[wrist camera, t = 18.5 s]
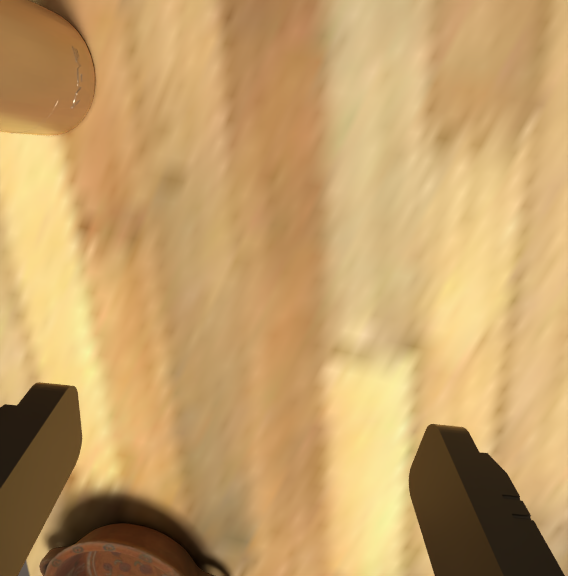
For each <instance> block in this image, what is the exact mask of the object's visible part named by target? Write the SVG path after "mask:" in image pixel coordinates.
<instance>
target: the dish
mask: <svg viewBox="0 0 568 576" xmlns="http://www.w3.org/2000/svg"><path fill="white" fill-rule="evenodd" d="M40 571H41V573H42V575H43V576H214V575H212V574H209V573H206V572H204V571H202V570H201V569H200V568H199V567H198V566H197V565H196V564H195V563H194V561H193V559H192V558H191V556H190V555H189V554H188V552H187V551H186V550H185V549H184V548H183V547H182V546H181V545H179V544H178V543H177V542H175V541H174V540H173V539H171V538H169V537H168V536H166V535H164V534H162V533H160V532H158V531H156V530H154V529H151V528H148V527H143V526H139V525H134V524H128V523H117V524H111V525H106V526H103V527H99V528H97V529H95V530H93V531H92V532H90V533H88V534H87V535H86V536H84V537H83V538H82V539H80V540H79V541H78V542H77V543H75V544H74V545H72V546H70V547H58V548H54V549H52V550H50V551H49V552H48V553H47V555H46V556H45V557H44V558H43V559H42V561H41V563H40Z"/></svg>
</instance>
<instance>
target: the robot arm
mask: <svg viewBox="0 0 568 576" xmlns="http://www.w3.org/2000/svg"><path fill="white" fill-rule="evenodd" d="M94 89H95V74H94V67H93V63H92V58H91V55H90V53H89V50H88V48H87V46H86V43H85V42H84V40H83V39H82V37H81V36H80V34H79V33H78V31H77V30H76V29H75V28H74V27H73V26H72V25H71V24H70V23H69V22H68V21H67V20H66V19H64V18H63V17H61V16H60V15H58V14H57V13H55V12H53V11H51V10H48V9H46V8H44V7H42V6H40V5H38V4H36V3H34V2H32V1H30V0H0V132H7V133H18V134H32V135H46V136H49V135H60V134H63V133H66V132H68V131H70V130H72V129H73V128H75V127H76V126H77V125H78V124H79V123H80V122H81V121H82V120H83V119H84V117H85V116H86V114H87V112H88V111H89V109H90V106H91V103H92V100H93V97H94ZM81 444H82V430H81V420H80V410H79V401H78V392H77V389H76V387H75V386H69V385H59V384H49V383H36V384H35V385H33V386H32V387H31V389H30V390H29V391H28V392H27V394H26V395H25V396H24V397H23V399H22V400H21V401H20V403H19V404H18V405H17V406H16V405H6V404H5V405H3V406H2V407H0V576H18V574H19V572H20V570H21V568H22V566H23V564H24V563H25V561H26V559H27V557H28V555H29V553H30V551H31V549H32V547H33V545H34V543H35V541H36V540H37V538H38V536H39V534H40V532H41V530H42V528H43V526H44V524H45V522H46V520H47V518H48V517H49V515H50V513H51V511H52V509H53V507H54V505H55V503H56V501H57V499H58V497H59V495H60V494H61V492H62V490H63V488H64V486H65V484H66V482H67V480H68V478H69V476H70V474H71V472H72V470H73V469H74V467H75V465H76V462H77V460H78V457H79V453H80V449H81ZM409 490H410V496H411V499H412V503H413V506H414V509H415V512H416V516H417V519H418V522H419V525H420V529H421V532H422V535H423V539H424V542H425V545H426V548H427V552H428V555H429V558H430V561H431V565H432V568H433V571H434V574H435V576H565V575H564V574H563V572H562V570H561V568H560V567H559V565H558V563H557V561H556V559H555V558H554V556H553V554H552V552H551V551H550V549H549V547H548V545H547V543H546V542H545V540H544V538H543V536H542V535H541V533H540V531H539V529H538V528H537V526H536V524H535V522H534V521H533V520H531V518H530V516H531V515H530V513H529V512H528V510H527V508H526V506H525V504H524V503H523V501H520V496H519V494H518V492H517V490H516V489H515V487H514V485H513V483H512V481H511V480H510V478H509V476H508V474H507V473H506V472H505V471H504V470H503V469H502V468H501V467H500V466H499V465H498V464H497V463H496V462H495V461H494V460H493V459H492V458H491V456H490V455H489V454H488V453H479V451H478V449H477V447H476V445H475V443H474V441H473V439H472V437H471V436H470V434H469V432H468V431H467V430H466V429H465V428H463V427H456V426H446V425H437V424H430V425H429V426H428V427H427V429H426V431H425V433H424V436H423V438H422V441H421V443H420V446H419V448H418V451H417V453H416V456H415V458H414V461H413V463H412V466H411V469H410V473H409Z"/></svg>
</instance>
